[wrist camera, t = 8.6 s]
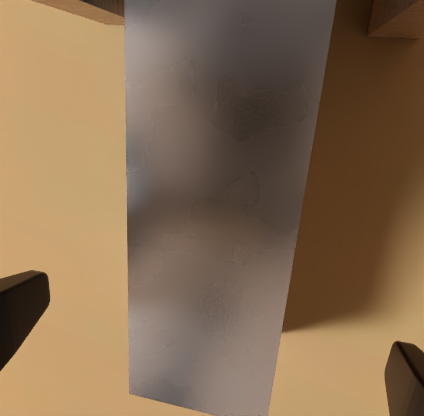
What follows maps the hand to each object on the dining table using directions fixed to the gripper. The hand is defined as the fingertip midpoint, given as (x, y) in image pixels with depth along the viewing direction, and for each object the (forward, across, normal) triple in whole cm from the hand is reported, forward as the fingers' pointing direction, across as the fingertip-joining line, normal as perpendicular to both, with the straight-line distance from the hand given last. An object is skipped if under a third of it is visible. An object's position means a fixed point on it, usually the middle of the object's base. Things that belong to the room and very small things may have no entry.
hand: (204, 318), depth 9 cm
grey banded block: (+4, 0, -6) cm, 7 cm away
